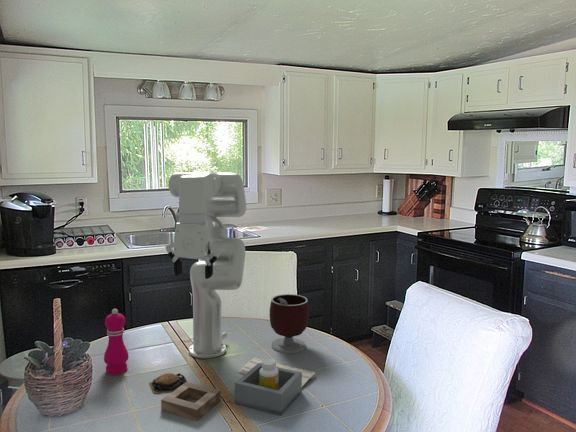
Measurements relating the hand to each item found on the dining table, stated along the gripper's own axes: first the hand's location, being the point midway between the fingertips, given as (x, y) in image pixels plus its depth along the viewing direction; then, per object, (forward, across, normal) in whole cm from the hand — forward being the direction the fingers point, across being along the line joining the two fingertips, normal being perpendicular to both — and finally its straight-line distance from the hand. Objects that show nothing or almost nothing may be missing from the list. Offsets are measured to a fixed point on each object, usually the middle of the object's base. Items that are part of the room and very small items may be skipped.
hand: (193, 276), depth 144 cm
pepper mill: (+32, -25, -3) cm, 41 cm away
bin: (+32, +25, -4) cm, 41 cm away
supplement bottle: (+31, +25, -4) cm, 40 cm away
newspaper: (+33, +23, +11) cm, 42 cm away
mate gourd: (+33, +20, +32) cm, 50 cm away
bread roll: (+33, -5, -6) cm, 34 cm away
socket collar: (+32, +6, -14) cm, 35 cm away
